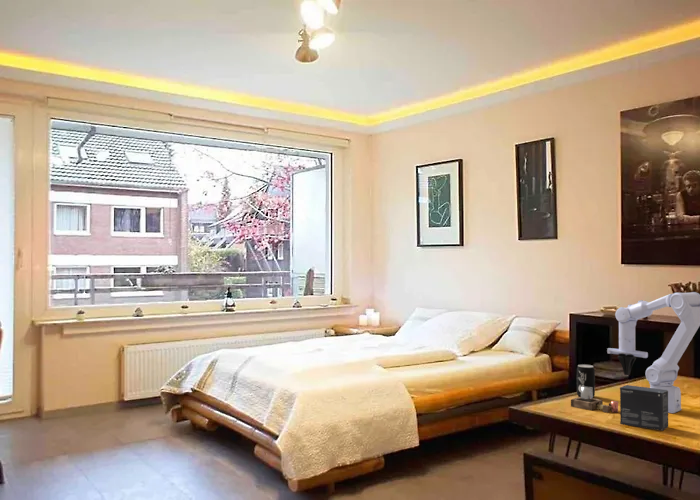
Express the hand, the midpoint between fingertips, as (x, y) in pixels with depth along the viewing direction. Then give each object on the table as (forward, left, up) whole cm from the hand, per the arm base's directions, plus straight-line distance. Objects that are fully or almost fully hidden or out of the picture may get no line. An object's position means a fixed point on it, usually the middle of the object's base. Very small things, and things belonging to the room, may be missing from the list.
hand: (627, 374), depth 232 cm
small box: (-19, +31, -10) cm, 38 cm away
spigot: (+6, +21, -10) cm, 24 cm away
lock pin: (-1, +21, -10) cm, 23 cm away
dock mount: (+3, +21, -10) cm, 23 cm away
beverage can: (+14, +5, -10) cm, 18 cm away
